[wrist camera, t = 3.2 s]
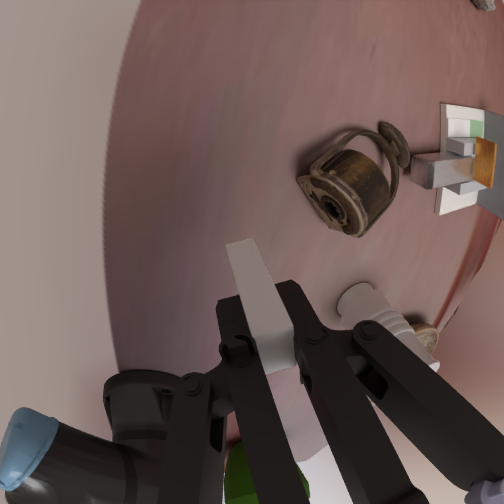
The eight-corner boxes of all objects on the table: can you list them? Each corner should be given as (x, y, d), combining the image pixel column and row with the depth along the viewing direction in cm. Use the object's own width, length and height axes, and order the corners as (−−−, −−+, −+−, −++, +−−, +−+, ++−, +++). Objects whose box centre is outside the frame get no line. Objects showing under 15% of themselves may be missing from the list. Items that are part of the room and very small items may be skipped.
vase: (209, 456, 57) (227, 532, 37) (216, 431, 48) (241, 532, 28) (276, 447, 63) (301, 516, 43) (299, 420, 54) (334, 506, 34)
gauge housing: (434, 212, 31) (481, 244, 24) (440, 103, 23) (499, 118, 15) (477, 199, 32) (517, 223, 25) (484, 110, 24) (531, 125, 17)
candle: (331, 293, 33) (394, 387, 21) (376, 271, 34) (446, 351, 21) (335, 325, 37) (386, 409, 25) (375, 305, 37) (432, 380, 25)
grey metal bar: (410, 180, 26) (449, 201, 21) (411, 130, 23) (454, 144, 18) (458, 172, 27) (492, 189, 22) (460, 130, 24) (497, 143, 19)
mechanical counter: (304, 132, 17) (330, 263, 21) (437, 118, 17) (448, 225, 21) (283, 138, 24) (305, 236, 28) (395, 121, 24) (407, 208, 28)
